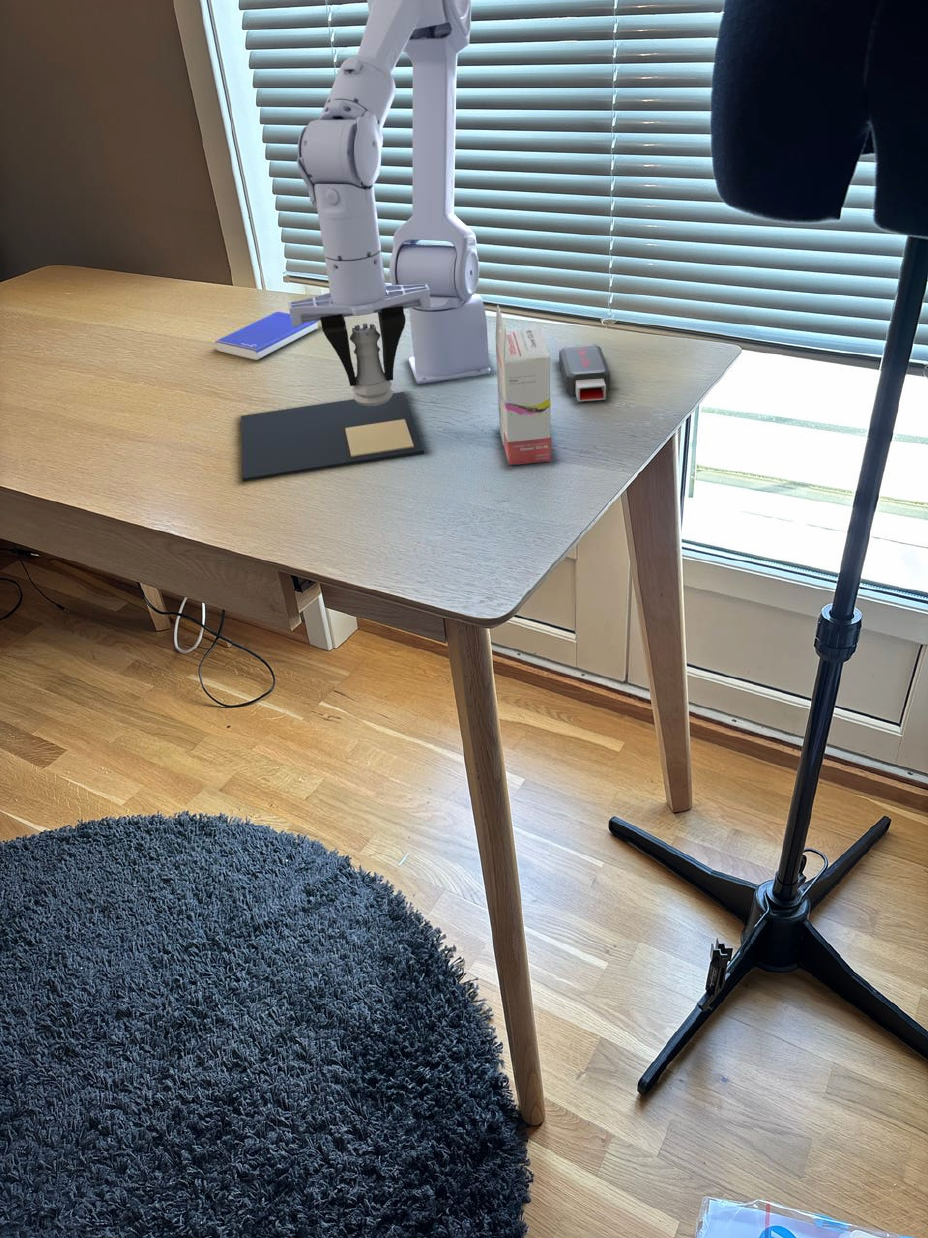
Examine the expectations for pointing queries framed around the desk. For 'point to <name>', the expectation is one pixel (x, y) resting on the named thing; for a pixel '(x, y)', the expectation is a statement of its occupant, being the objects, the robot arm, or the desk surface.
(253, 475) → the desk pad
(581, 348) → the usb drive
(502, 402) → the ink cartridge box
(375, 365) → the rook chess piece
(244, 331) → the hard drive
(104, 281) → the desk surface
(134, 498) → the desk surface
